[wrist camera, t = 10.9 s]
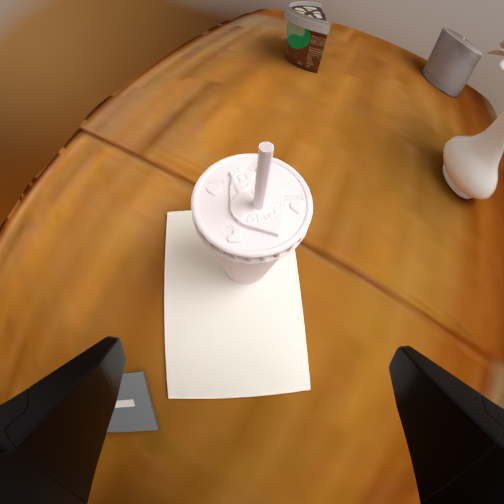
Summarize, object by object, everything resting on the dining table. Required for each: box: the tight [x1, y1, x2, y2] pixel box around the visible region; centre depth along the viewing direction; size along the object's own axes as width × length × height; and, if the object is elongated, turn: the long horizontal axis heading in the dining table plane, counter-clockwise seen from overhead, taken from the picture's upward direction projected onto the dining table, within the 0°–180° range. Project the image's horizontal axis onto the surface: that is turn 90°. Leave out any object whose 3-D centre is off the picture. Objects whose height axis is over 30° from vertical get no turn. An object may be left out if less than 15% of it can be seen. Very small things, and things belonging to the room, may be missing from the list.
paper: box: [164, 210, 311, 399], centre depth 22 cm, size 16×11×1 cm
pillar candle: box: [422, 27, 482, 97], centre depth 34 cm, size 10×10×15 cm
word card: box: [107, 371, 159, 432], centre depth 18 cm, size 5×8×1 cm, turn 104°
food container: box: [284, 2, 331, 73], centre depth 32 cm, size 12×6×10 cm, turn 174°
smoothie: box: [191, 142, 313, 284], centre depth 16 cm, size 6×6×14 cm
